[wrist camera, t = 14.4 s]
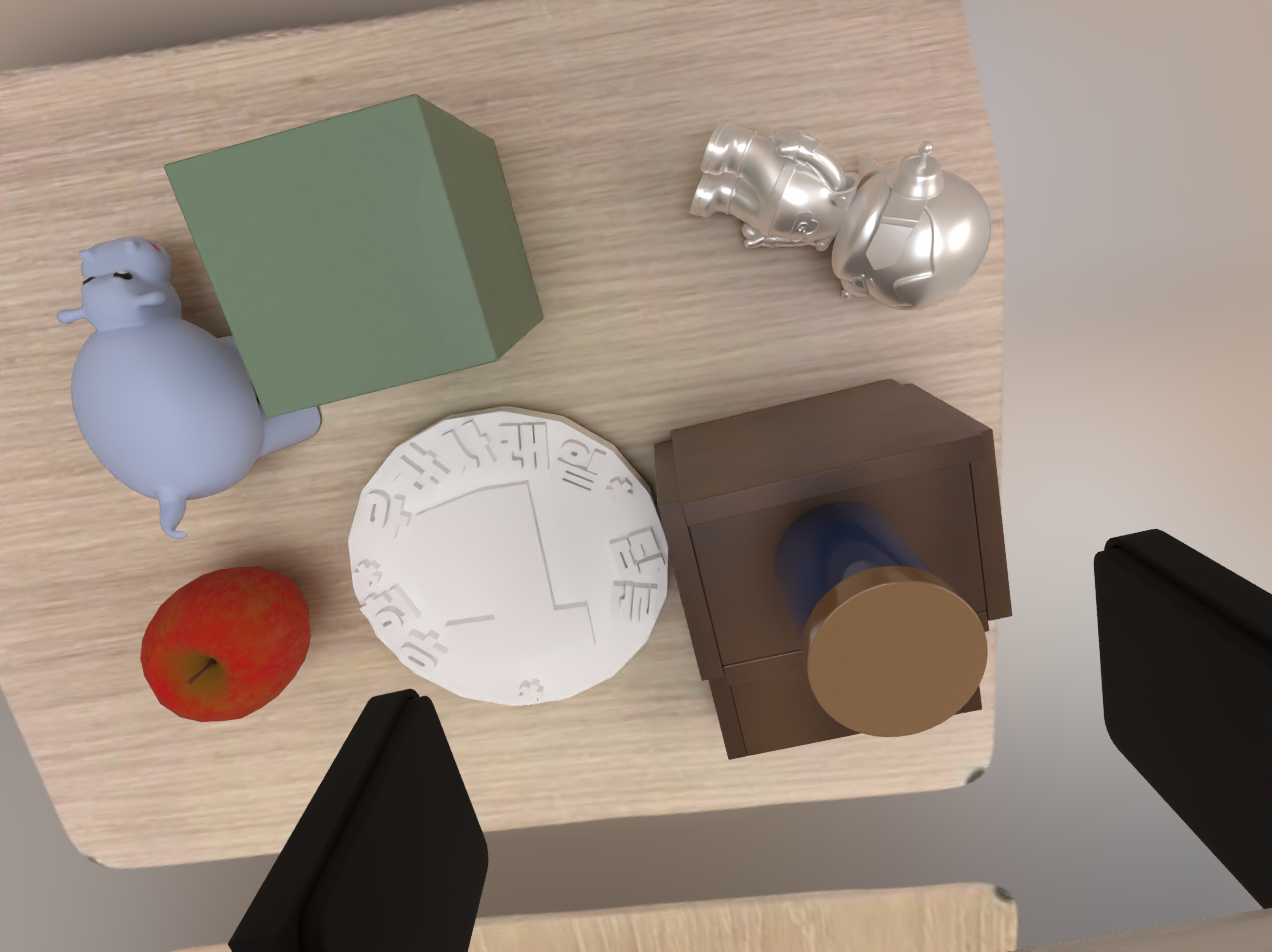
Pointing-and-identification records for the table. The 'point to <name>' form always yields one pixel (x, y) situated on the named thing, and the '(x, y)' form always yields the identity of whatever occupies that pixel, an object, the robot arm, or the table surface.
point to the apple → (226, 643)
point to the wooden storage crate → (788, 489)
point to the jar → (876, 623)
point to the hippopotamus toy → (165, 386)
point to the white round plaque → (509, 556)
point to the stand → (360, 252)
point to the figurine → (850, 212)
